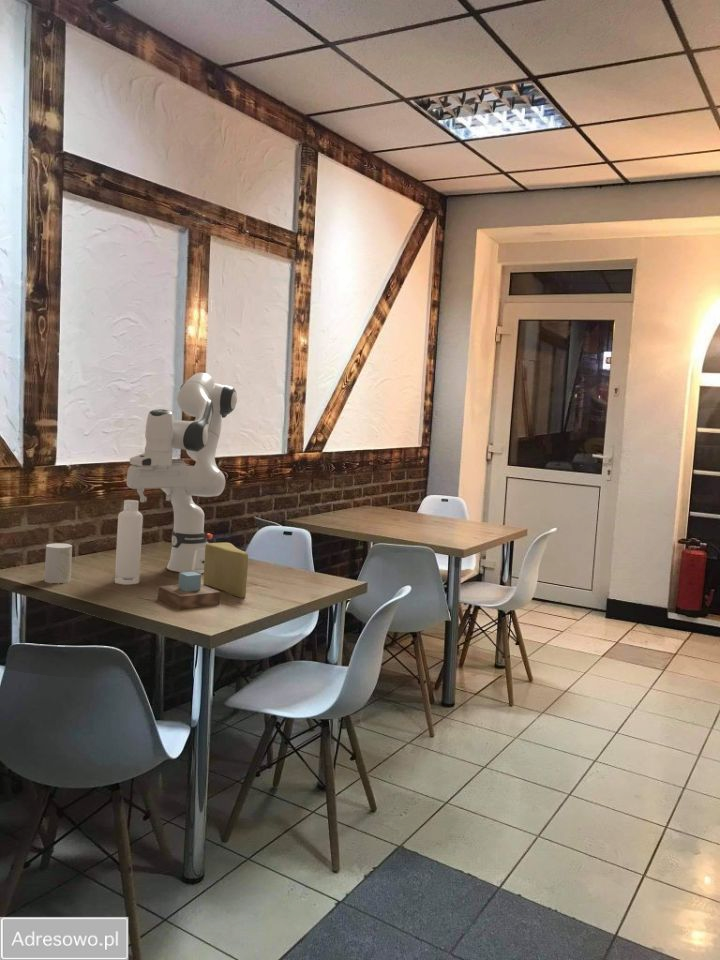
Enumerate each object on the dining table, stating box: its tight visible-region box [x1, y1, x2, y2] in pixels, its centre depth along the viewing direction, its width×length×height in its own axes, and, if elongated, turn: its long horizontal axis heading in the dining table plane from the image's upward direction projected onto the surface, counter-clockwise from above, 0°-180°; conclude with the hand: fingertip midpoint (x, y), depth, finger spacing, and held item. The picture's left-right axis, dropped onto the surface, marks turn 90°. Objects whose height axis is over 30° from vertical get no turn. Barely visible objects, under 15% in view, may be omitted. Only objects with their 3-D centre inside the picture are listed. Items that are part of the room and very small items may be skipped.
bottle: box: [114, 499, 144, 585], centre depth 271 cm, size 8×8×28 cm
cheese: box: [202, 542, 249, 599], centre depth 270 cm, size 22×10×15 cm, turn 36°
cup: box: [44, 542, 73, 585], centre depth 265 cm, size 8×8×12 cm
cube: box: [177, 572, 202, 592], centre depth 251 cm, size 5×5×5 cm
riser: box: [157, 583, 221, 610], centre depth 252 cm, size 14×14×4 cm
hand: (156, 501), depth 260 cm, fingers open, 8 cm apart
